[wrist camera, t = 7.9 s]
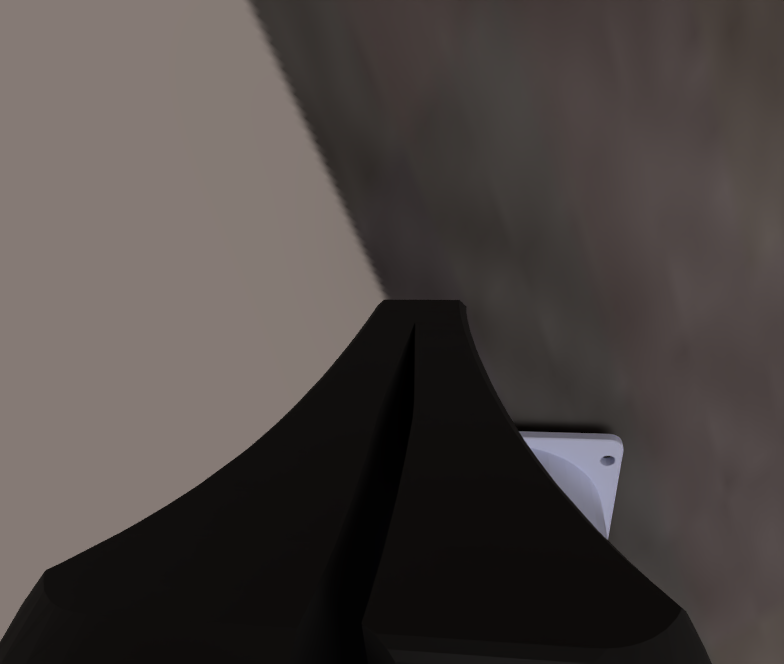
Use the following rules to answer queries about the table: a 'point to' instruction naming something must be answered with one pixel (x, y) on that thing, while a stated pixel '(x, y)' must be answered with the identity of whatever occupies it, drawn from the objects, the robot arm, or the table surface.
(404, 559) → the robot arm
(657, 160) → the table surface
